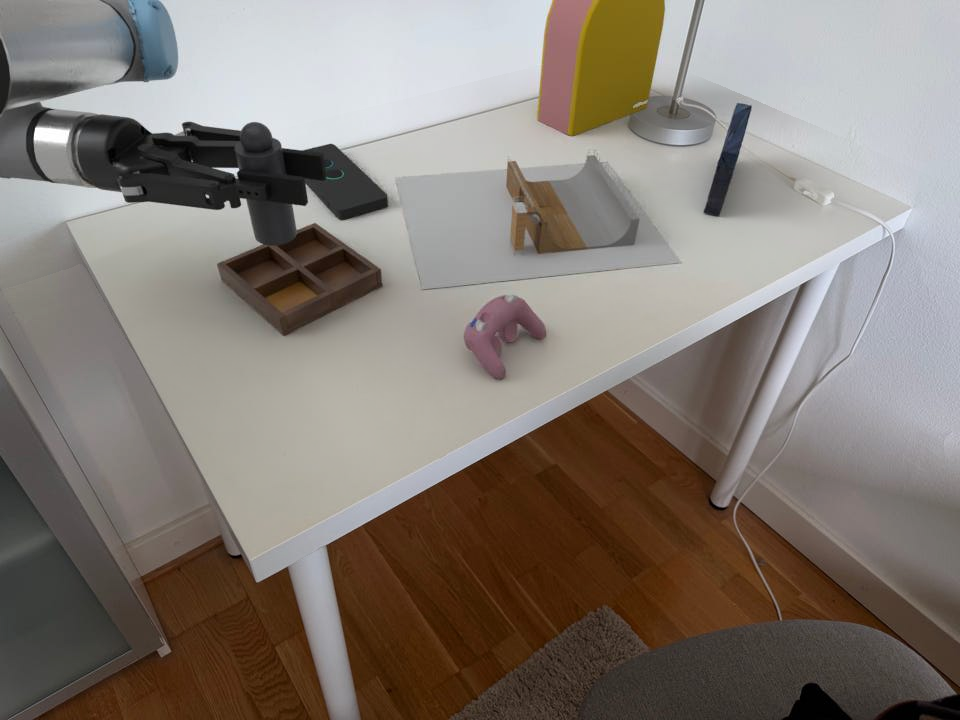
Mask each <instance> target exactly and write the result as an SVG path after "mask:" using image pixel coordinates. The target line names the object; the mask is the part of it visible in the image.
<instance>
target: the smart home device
mask: <svg viewBox="0 0 960 720" xmlns="http://www.w3.org/2000/svg"><path fill="white" fill-rule="evenodd" d="M302 150H303V151H311V152H319V153H323V154H324V161H325V169H326V176H327V178H326V179H325V180H324V181H321V180H313V179H305V178H304V179H305V185H307V186H308V188H309V189H310V190H311V192H313V193H314V194H315V195H316V196H317V198H318V199H319V200H320V201H321V202H322V203H323V204H324V205H325V206H326V208H327V209H328V210H329V211H330V212H331V213H332V214H333V215H334V217H335V218H337V219H338V220H341V221H344V220H348V219H351V218H355V217H357V216H360V215H364V214H368V213H371V212H375V211H378V210H381V209H385V208H387V207H389V202H388V193H386V192H385V191H384V190H383V189H382V188H381V187H380V186H379V185H378V184H376V182H374V181H373V180H372V178H370V177H369V176H368V175H367V173H366V172H364V171H363V170H362V169H361V168H360V167H359V166H358V165H357V164H356V163H355V162H354V161H353V160H352V159H350V158H349V157H348V156H347V154H345V153H344V152H343V151H342V150H341V149H340V148H339V147H338V146H337V145H335V144H333V143H328V144H322V145H318V146H314V147H311V148H307V149H302Z"/></svg>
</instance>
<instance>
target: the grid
mask: <svg viewBox="0 0 960 720" xmlns="http://www.w3.org/2000/svg"><path fill="white" fill-rule="evenodd" d="M216 266H217V270H218V273H219V276H220V280H221V281H222V282H223V283H224V285H226V286H227V287H228V288H229V289H231V290H232V291H233V292H234V293H235V294H236V295H237V296H238V297H239V298H240V299H242V300H243V301H244V302H245V303H246V304H247V305H248V306H249V307H251V309H253V310H254V311H255V312H256V313H257V314H258V315H259V316H260V317H262V318H263V319H264V320H265V321H266V322H267V323H268V324H269V325H270V326H272V328H274V329H275V330H276V331H277V332H279V334H280V335H282V336H284V337H285V336H287V335H288V334H291V333H292V332H294V331H296V330H298V329H300V328H302V327H304V326H307V325H308V324H311V323H312V322H315V321H316V320H318V319H320V318H322V317H324V316H326V315H328V314H330V313H331V312H334V311H336V310H338V309H340V308H342V307H343V306H345V305H348V304H350V303H352V302H354V301H355V300H358V299H359V298H362V297H364V296H365V295H367V294H369V293H372V292H374V291H375V290H377V289H379V288H381V287H383V278H382V277H383V276H382V268H380V267H379V266H377V265H375V264H374V263H373V262H371V261H370V260H369V259H368V258H366V257H364V256H363V255H362V254H360V253H359V252H358V251H356V250H354V249H353V248H352V247H350V246H349V245H348V244H346V243H345V242H343V241H341V240H340V239H339V238H338V237H336V236H335V235H334V234H332V233H331V232H329V231H328V230H326V229H325V228H323V227H322V226H321V225H319V224H318V223H316V222H313V223H311V224H308V225H306V226H303V227H301V228H299V229H297V235H296V237H295V238H294V239H293V240H291V241H290V242H288V243H285V244H282V245H275V246H270V245H264V244H261V245H258V246H255V247H254V248H250V249H249V250H246V251H244V252H241V253H239V254H237V255H234V256H231V257H230V258H227V259H225V260H223V261H220V262H218V263H216Z"/></svg>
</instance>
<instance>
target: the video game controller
mask: <svg viewBox="0 0 960 720" xmlns="http://www.w3.org/2000/svg"><path fill="white" fill-rule="evenodd" d="M518 325H519V326H520V327H522V328H523V329H524V330H525V331H526V332H527V333H529V335H531V336H532V337H534V338H535V339H536V338H537V339H538V340H543V339H545V338H546V336H547V328H546V325H545V323H544V322H543V321H542V319H540V317H539V316H538V315H537V314H536V313H535V311H533V309H532V307H531V306H530V305H529V304H528V303H527V301H526V300H525V299H524V298H522V297H519V296H518V295H515V294H503V295H500V296H497V297H494V298H493V299H491V300H489V301H488V302H487V303H485V304H484V305H483V306H482V307H481V308H480V309H479V311H478V312H477V313H476V315H475V316H474V318H473V319H472V321H469V322H468V323H467V325H466V326H465V328H464V332H463V341H464V344H465V346H466V348H467V349H468V350H469V351H470V352H471V353H472V354H473V356H474V357H475V359H476V360H477V361H478V363H479V364H480V366H481V367H482V368H483V369H484V370H485V371H486V372H487V373H488V374H489V375H491V376H492V377H493V378H496V379H498V380H503V379H504V378H506V377H507V376H506V375H507V371H506V366H505V365H504V363H503V361H502V360H501V358H500V357H499V356H500V354H501V353H502V350H503V343H512V342H515V341H516V340H517V337H518ZM497 335H498V336H497ZM502 342H503V343H502Z"/></svg>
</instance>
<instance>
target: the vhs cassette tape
mask: <svg viewBox="0 0 960 720" xmlns="http://www.w3.org/2000/svg"><path fill="white" fill-rule="evenodd" d="M752 108H753V105H752V104H747V103H742V102H741V103H740V102H736V104H735V107H734V109H733V112H732V115H731V119H730V123H729V126H728V128H727V132H726V136H725V138H724V143H723V145H722V148H721V152H720V155H719V158H718V161H717V163H716V168H715V171H714V172H715V173H714V175H713V178H712V181H711V186H710V188H709V192H708V195H707V199H706V202H705V205H704V209H703V213H704V214H705V215H713V216H716V217H720V215H721V212H722V209H723V205H724V204H725V199H726V197H727V193H728V192H729V191H728V190H729V187H730V184H731V182H732V179H733V175H734V172H735V168H736V165H737V163H738V159H739V156H740V153H741V149H742V145H743V141H744V138H745V135H746V131H747V127H748V124H749V119H750V116H751V113H752Z"/></svg>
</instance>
